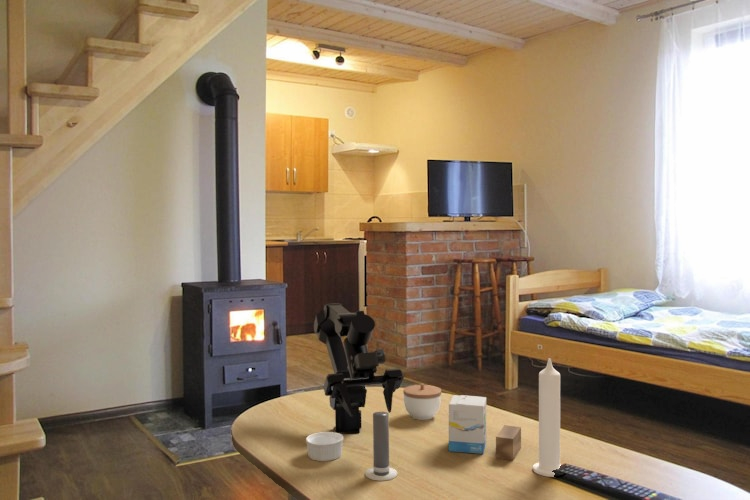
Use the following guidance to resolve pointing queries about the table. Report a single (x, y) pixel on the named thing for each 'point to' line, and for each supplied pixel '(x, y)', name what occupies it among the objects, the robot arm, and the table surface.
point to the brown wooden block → (508, 442)
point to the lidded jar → (422, 401)
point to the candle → (549, 422)
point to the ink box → (467, 424)
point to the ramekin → (324, 446)
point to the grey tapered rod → (381, 443)
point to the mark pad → (371, 475)
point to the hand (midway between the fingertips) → (371, 413)
